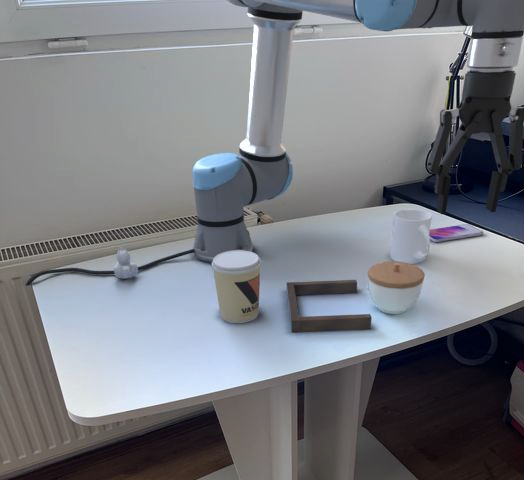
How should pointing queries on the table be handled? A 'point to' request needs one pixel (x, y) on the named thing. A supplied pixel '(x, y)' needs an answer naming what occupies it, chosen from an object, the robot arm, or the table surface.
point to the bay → (324, 321)
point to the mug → (410, 236)
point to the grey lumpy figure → (124, 265)
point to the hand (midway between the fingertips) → (465, 210)
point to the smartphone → (454, 232)
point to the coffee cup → (237, 285)
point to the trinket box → (394, 286)
